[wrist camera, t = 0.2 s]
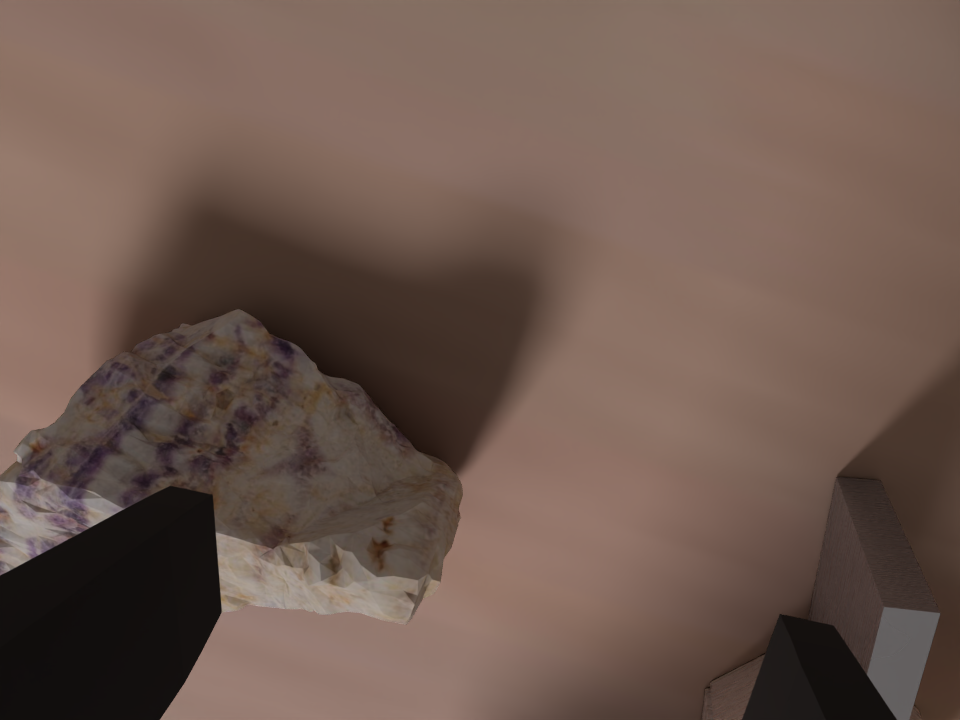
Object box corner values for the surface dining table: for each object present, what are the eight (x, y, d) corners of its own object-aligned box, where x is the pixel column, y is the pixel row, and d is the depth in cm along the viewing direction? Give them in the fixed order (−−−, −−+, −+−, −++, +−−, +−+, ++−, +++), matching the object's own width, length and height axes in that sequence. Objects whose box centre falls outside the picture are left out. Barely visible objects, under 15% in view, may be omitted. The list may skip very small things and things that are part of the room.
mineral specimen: (434, 259, 19) (343, 371, 13) (502, 501, 22) (449, 678, 16) (26, 335, 22) (-180, 449, 17) (127, 535, 25) (-21, 689, 20)
